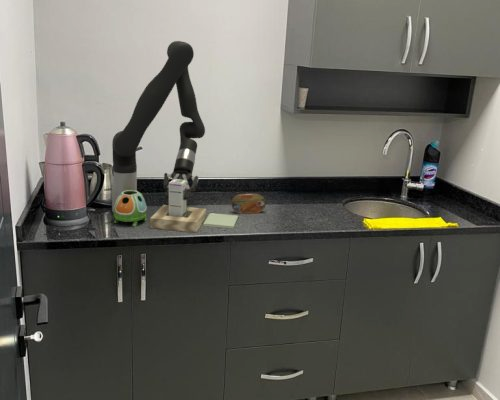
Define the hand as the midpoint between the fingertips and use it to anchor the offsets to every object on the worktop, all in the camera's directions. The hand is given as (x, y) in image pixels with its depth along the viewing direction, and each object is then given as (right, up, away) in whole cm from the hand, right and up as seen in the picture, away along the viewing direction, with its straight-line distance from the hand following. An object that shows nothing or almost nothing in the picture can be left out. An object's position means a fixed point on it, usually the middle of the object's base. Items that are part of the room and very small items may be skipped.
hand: (176, 198), depth 195 cm
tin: (+28, -6, +23) cm, 37 cm away
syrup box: (0, -7, +4) cm, 8 cm away
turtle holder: (-19, -9, +4) cm, 21 cm away
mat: (+17, -10, +9) cm, 21 cm away
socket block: (0, -10, +4) cm, 11 cm away
